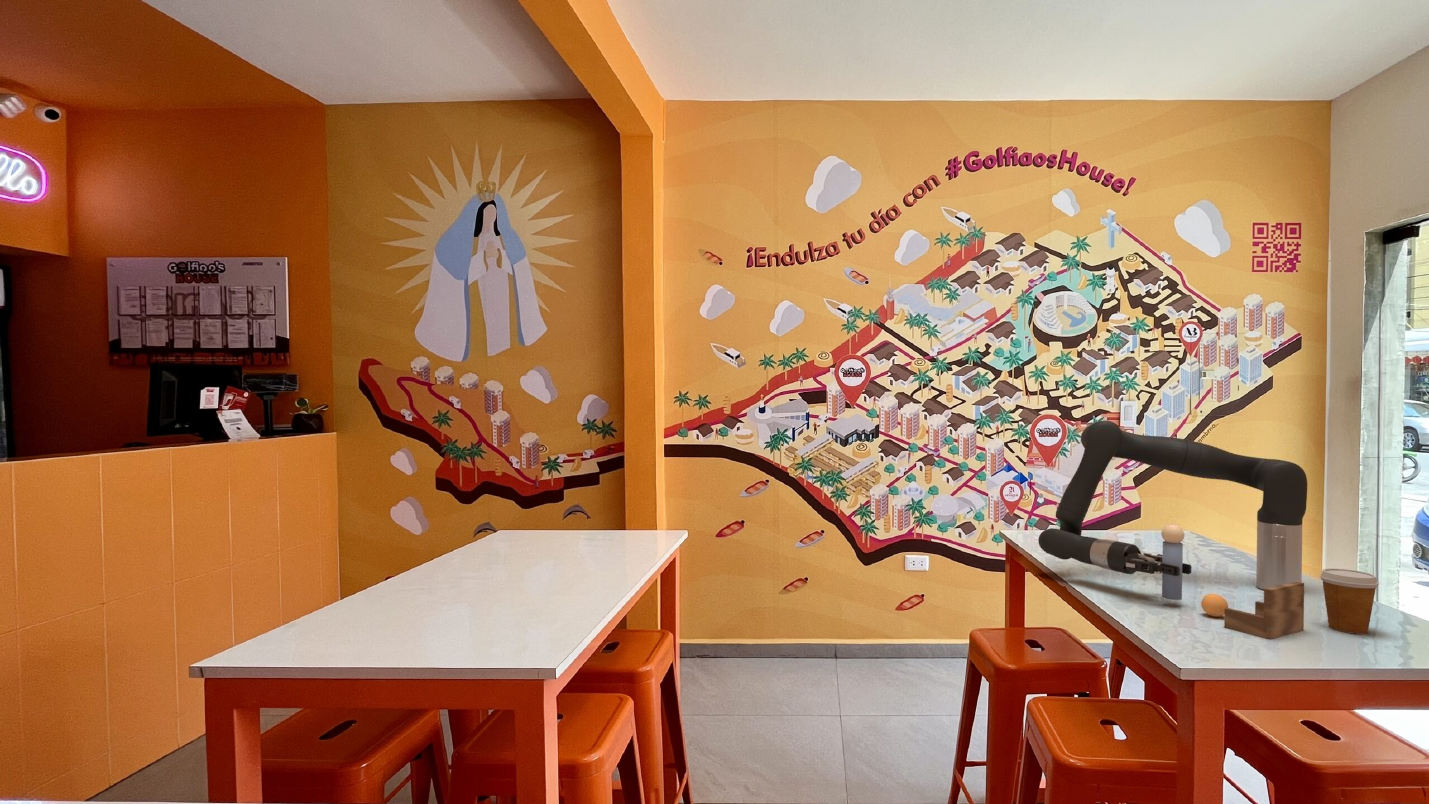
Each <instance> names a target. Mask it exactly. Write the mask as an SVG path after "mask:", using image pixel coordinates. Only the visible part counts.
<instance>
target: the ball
mask: <svg viewBox="0 0 1429 804" xmlns="http://www.w3.org/2000/svg"><path fill="white" fill-rule="evenodd" d="M1200 602H1201V603H1200V604H1201V608H1202V610H1203V612H1205V613H1206V615H1208V616H1211V617H1214V618H1217V617H1222V616H1224V613H1225V608H1229V603H1228V601H1227V600H1226V599H1225V597H1224V596H1222V595H1220V594H1217V593H1209V594H1206V595H1204V597H1202V599H1201V601H1200Z"/></svg>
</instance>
